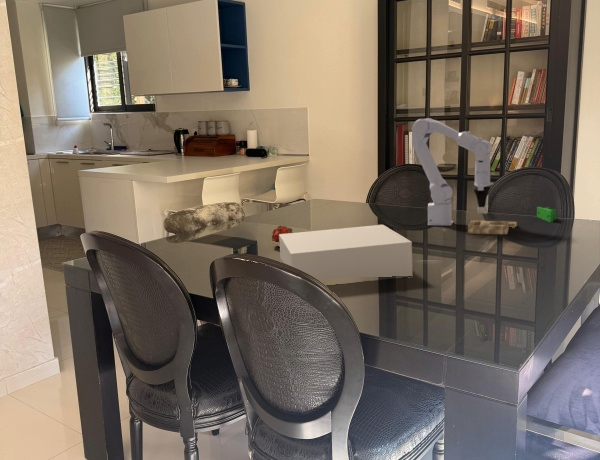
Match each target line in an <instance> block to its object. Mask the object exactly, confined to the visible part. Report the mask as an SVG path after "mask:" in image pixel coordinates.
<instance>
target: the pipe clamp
mask: <svg viewBox="0 0 600 460" xmlns="http://www.w3.org/2000/svg"><path fill="white" fill-rule="evenodd" d="M556 210H557V209H552V208H551V207H541V206H536V218H537V217H538V218H537V219H540V218H541V220H543V221H545V222H549V223H553V222H554V221H556V217H557V216H556V212H557V211H556Z"/></svg>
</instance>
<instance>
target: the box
mask: <svg viewBox="0 0 600 460" xmlns="http://www.w3.org/2000/svg"><path fill="white" fill-rule="evenodd" d="M279 243H280V248H279V254H280V260H281V259H282V261H283V262H284V263H286V264H288V265H290V266H292V267H295V268H298V269H300V270H302V271H304V272H306V273H308V274H310V275H312V276H314V277H315V278H319V279H323V278H343V277H392V276H412V277H413V249H412V248H413V246H412V244H413V242H412V241H411V240H410V239H408V238H406V237H405V236H403V235H401V234H399V233H398V232H396V231H394V230H392V229H390V228H389V227H388V226H386V225H384V224H374V225H366V226H365V225H364V226H356V227H355V226H353V227H344V228H333V229H331V228H330V229H324V230H323V229H320V230H312V231H311V230H310V231H302V232H301V231H300V232H293V233H288V234H279Z"/></svg>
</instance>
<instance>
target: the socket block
mask: <svg viewBox="0 0 600 460" xmlns="http://www.w3.org/2000/svg"><path fill="white" fill-rule="evenodd" d="M509 222H510V221H509V220H470V221H469V223H468V225H467V234H477V235H478V234H479V235H481V234H482V235H508V233H509V229H510V228H509Z"/></svg>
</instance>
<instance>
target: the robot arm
mask: <svg viewBox="0 0 600 460" xmlns="http://www.w3.org/2000/svg"><path fill="white" fill-rule="evenodd" d="M411 132H412V138H411V145H412V147H413V150H414V151H415V152H414V153H415V154H416V157H417V158H418V160H419V162H420V165H421V166H422V169H423V171H424V173H425V176H426V177H427V179H428V181H429V191H430V197H431V199H432V201H433V202H429V203H428V204H427V226H452V225H453V223H454V220H452V199H451V198H453V195H454V190H453V188H452V187H451V186H450V185H449V184H448V183H447V181H446V180H445V179H444V178H443V177H442V175H441V172H440V170H439V169H438V166H437V163H436V162H435V159H434V157H433V155H432V153H431V151H430V149H429V147H428V144H427V142H428V140H429V137H430V136H431V135H432V134H434V133H438V134H442V135H444V136H446V137H448V138H450V139H453V140H455V141H456V144H457V145H458V146H459V147H462V148H464V149H466V150H468V151H470V152H473V154H474V182H473V184H474V186H475V188H474V189H473V192H474V194H475V196H476V199H477V200H476V201H477V207H478V206H479V207H485V202H486V197H487V195H488V196H489V191H490V189H491V186H492V185H494V182H491V152H492V150H493V145H492V142H490V141H489V140H487V139H483V138H482V137H477V136H476V135H474V134H472V132H471V131H470V130H468V131H465V130H464V131H461V132H459V131H458V130H456V129H454V128H452V127H450V126H448V125H447V124H445V123H443V122H441V121H438V120H437V119H432V118H430V117H427V118H419V119H417V120H415V121H414V122H413V125H412V126H411Z"/></svg>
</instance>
